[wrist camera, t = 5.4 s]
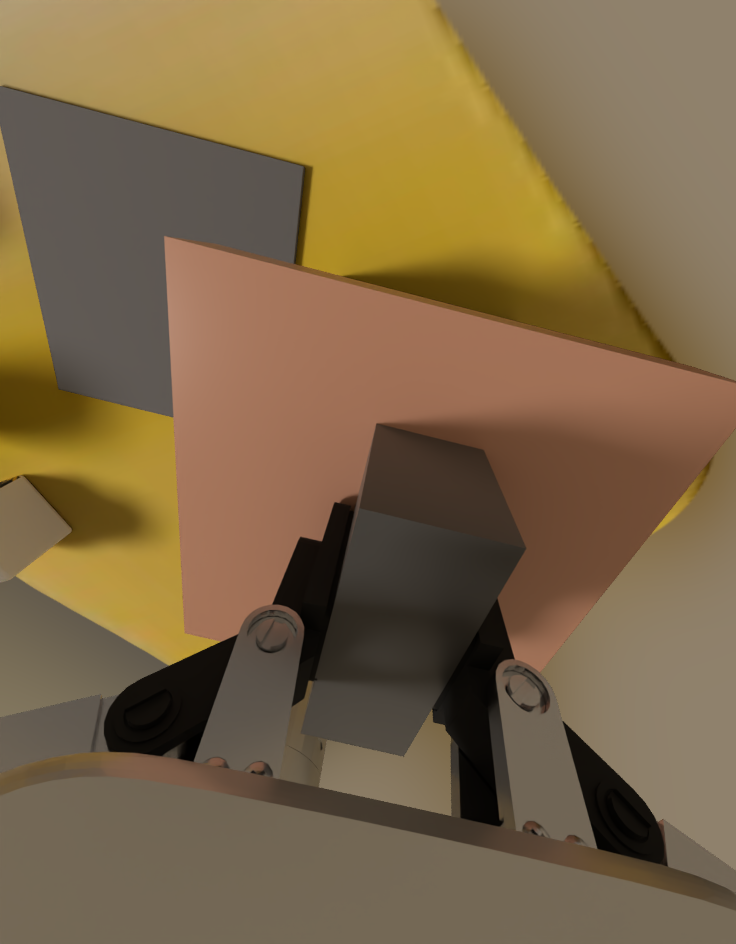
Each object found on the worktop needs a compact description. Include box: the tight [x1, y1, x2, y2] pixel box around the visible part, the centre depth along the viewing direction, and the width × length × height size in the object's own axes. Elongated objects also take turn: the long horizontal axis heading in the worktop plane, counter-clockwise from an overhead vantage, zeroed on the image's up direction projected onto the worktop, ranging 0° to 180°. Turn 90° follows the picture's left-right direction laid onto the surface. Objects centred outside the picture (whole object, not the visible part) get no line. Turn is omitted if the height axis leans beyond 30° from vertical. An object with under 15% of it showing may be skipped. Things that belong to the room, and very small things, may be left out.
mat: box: [0, 86, 305, 417], centre depth 25 cm, size 18×18×1 cm
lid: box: [164, 236, 736, 756], centre depth 11 cm, size 14×14×6 cm
